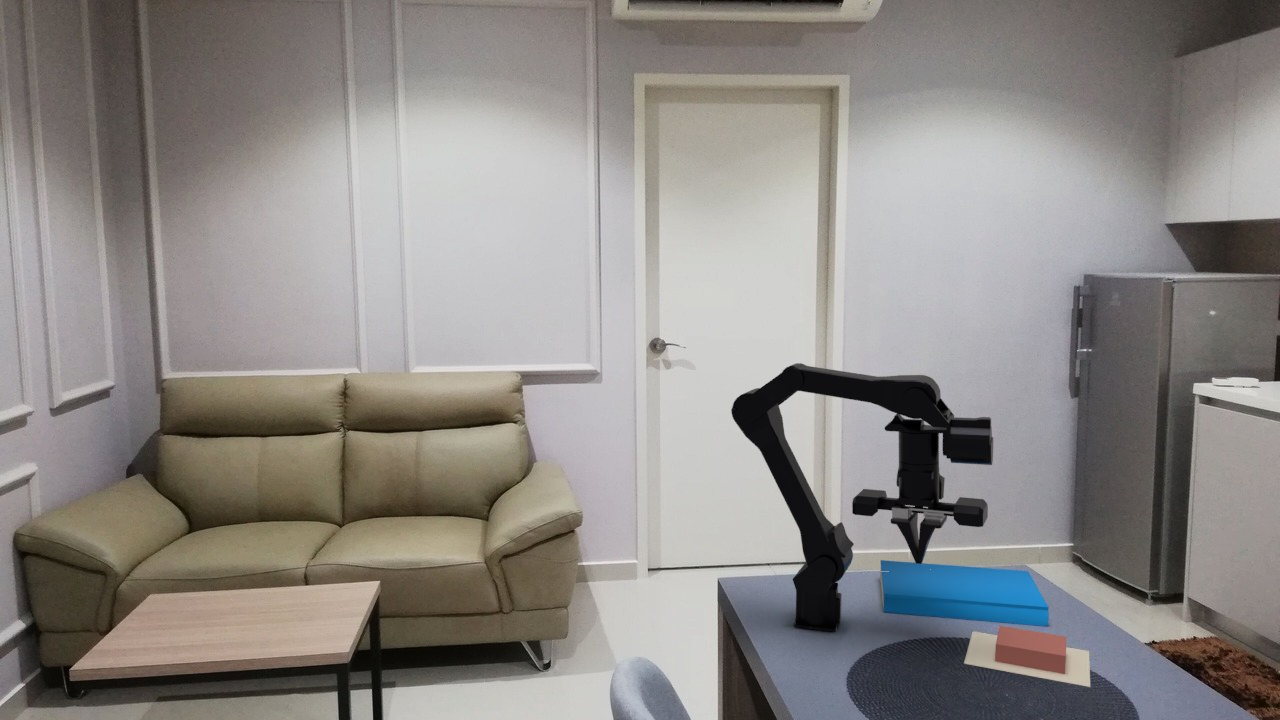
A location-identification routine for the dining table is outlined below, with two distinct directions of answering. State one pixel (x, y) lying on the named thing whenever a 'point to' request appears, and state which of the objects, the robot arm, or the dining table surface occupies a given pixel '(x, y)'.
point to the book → (962, 593)
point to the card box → (1031, 649)
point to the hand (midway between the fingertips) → (919, 562)
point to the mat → (984, 656)
